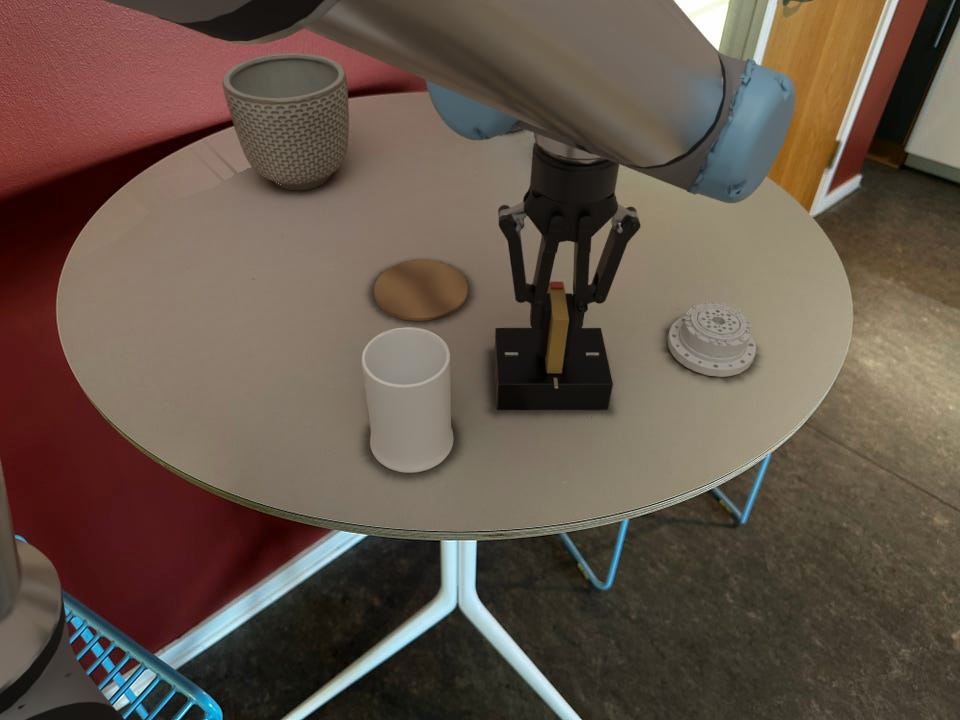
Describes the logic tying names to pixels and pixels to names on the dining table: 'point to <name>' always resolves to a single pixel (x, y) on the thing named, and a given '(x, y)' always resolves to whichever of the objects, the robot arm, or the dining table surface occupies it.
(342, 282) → the dining table surface
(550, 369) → the yellow rectangular block
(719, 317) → the mechanical component
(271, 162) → the planter
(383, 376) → the mug
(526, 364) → the socket block
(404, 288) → the coaster
